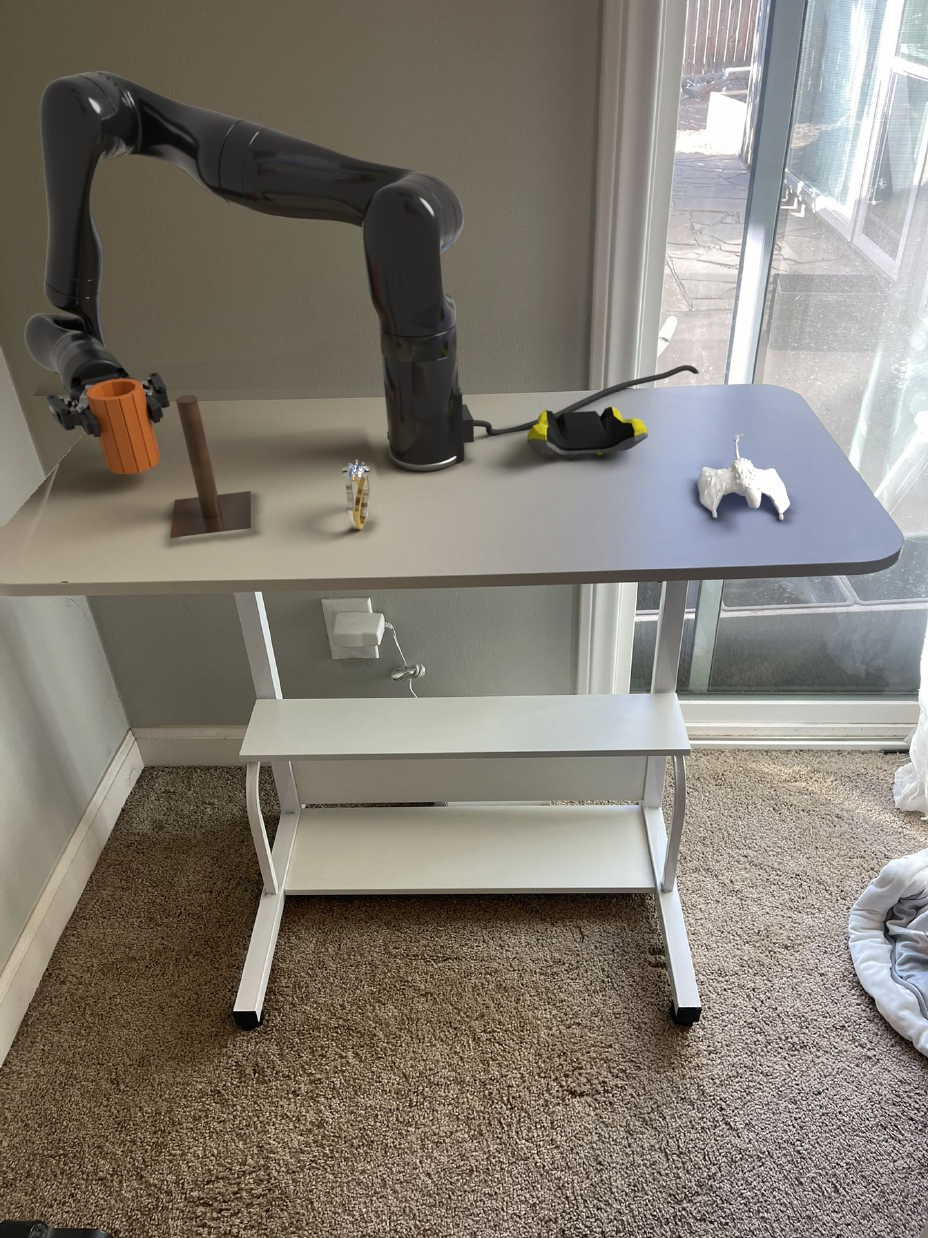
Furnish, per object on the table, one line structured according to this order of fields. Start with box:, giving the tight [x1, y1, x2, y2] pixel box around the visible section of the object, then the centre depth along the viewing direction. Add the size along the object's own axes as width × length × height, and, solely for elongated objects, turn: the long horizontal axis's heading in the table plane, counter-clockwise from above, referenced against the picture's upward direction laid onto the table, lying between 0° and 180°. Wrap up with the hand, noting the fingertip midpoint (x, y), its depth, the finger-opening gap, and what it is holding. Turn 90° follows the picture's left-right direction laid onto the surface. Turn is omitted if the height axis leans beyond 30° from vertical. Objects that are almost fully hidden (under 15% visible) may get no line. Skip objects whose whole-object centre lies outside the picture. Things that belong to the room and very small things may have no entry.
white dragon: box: [697, 432, 791, 521], centre depth 108 cm, size 18×10×4 cm, turn 174°
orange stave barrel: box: [86, 379, 161, 475], centre depth 110 cm, size 6×6×10 cm
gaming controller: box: [526, 405, 649, 459], centre depth 118 cm, size 15×6×10 cm
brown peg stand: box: [170, 394, 252, 539], centre depth 104 cm, size 9×9×15 cm
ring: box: [341, 459, 371, 531], centre depth 103 cm, size 7×3×8 cm, turn 171°
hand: (126, 422), depth 107 cm, fingers closed on orange stave barrel, 6 cm apart
